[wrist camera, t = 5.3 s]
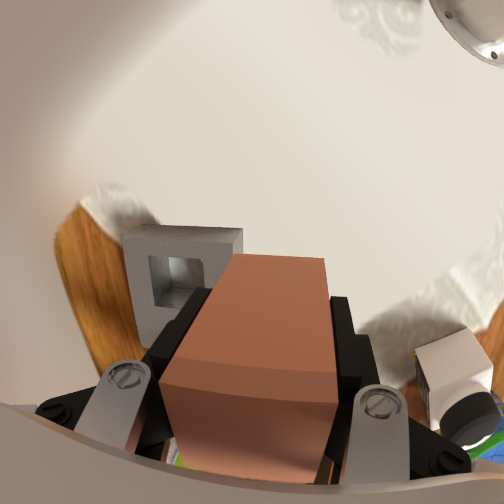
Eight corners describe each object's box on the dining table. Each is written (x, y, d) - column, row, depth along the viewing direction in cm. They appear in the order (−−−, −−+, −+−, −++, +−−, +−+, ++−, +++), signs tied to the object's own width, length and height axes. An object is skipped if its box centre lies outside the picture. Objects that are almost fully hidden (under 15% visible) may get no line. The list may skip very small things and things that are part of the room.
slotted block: (142, 224, 29) (-44, 355, 9) (242, 228, 28) (106, 437, 7) (165, 370, 36) (82, 516, 15) (244, 382, 34) (193, 557, 14)
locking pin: (234, 253, 13) (158, 381, 6) (323, 258, 12) (338, 402, 5) (236, 327, 14) (184, 466, 7) (315, 333, 13) (313, 483, 7)
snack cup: (416, 427, 33) (429, 485, 24) (462, 374, 29) (489, 434, 20) (482, 433, 33) (498, 479, 23) (523, 387, 29) (548, 432, 19)
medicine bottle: (412, 348, 29) (442, 432, 18) (468, 325, 27) (514, 399, 16) (417, 389, 31) (439, 467, 20) (468, 369, 29) (502, 440, 18)
